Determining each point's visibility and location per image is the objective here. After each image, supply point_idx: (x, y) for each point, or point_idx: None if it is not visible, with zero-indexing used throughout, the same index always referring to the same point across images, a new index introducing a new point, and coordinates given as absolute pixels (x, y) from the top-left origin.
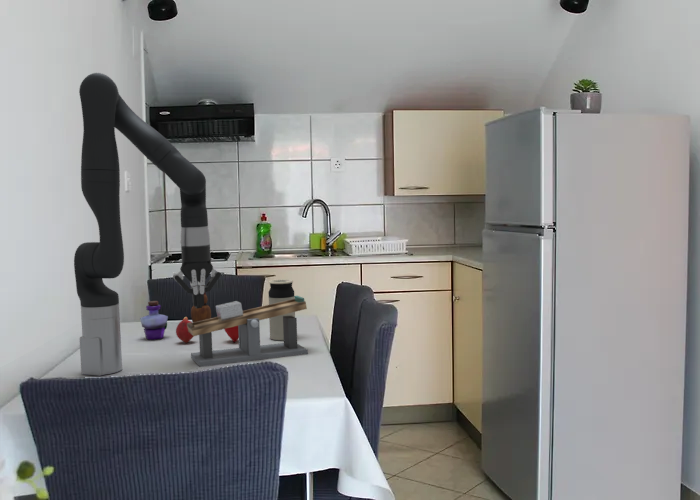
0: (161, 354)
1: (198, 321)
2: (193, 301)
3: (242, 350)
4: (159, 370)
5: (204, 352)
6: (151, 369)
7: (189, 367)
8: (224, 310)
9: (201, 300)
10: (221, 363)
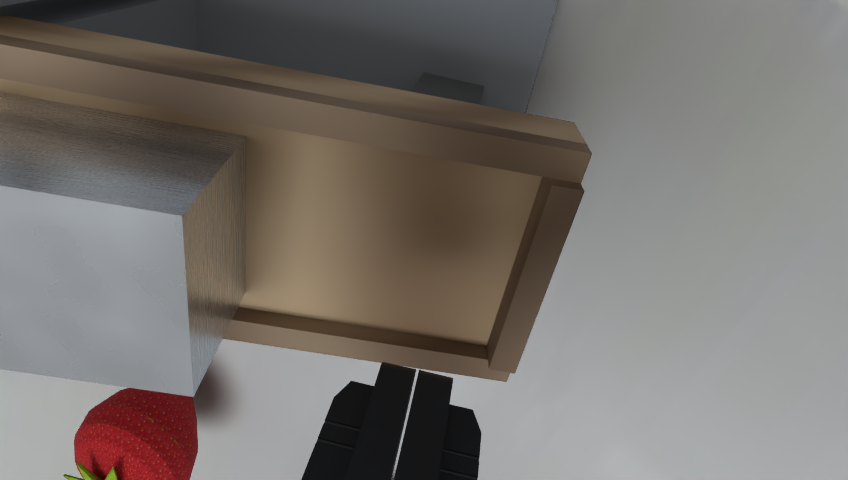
0: (566, 407)
1: (409, 358)
2: (476, 477)
3: None
4: (811, 88)
5: (473, 95)
6: (825, 151)
7: (617, 26)
8: (139, 184)
9: (362, 437)
10: None
